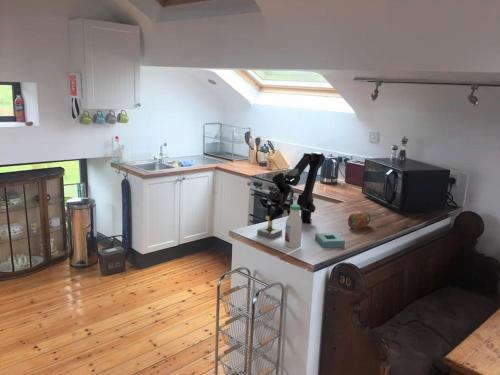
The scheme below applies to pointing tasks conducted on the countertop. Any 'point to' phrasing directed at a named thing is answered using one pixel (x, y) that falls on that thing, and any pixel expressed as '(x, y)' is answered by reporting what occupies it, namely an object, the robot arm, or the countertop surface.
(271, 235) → the charcoal socket block
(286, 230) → the milk bottle
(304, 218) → the robot arm
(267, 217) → the brass T-key
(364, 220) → the tin
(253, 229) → the countertop surface
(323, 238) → the teal square socket block
